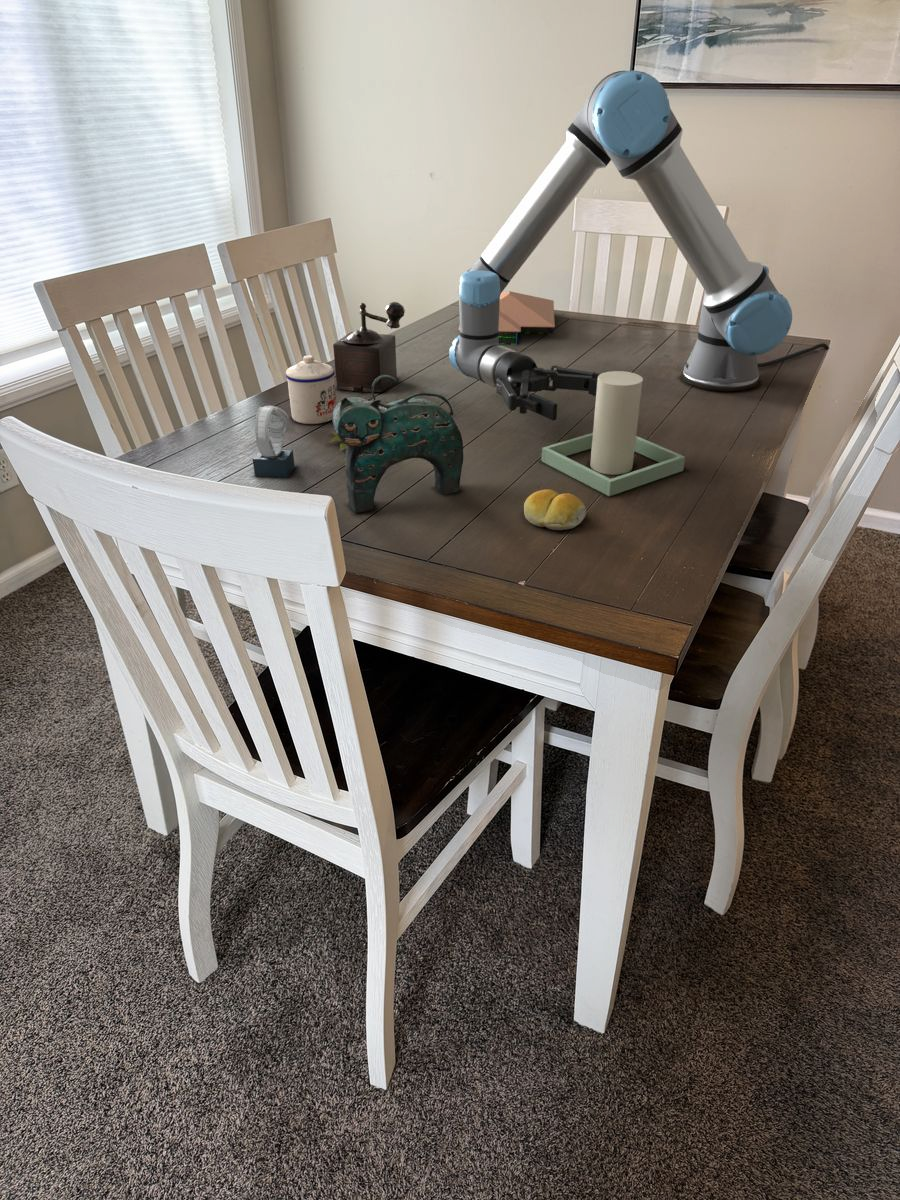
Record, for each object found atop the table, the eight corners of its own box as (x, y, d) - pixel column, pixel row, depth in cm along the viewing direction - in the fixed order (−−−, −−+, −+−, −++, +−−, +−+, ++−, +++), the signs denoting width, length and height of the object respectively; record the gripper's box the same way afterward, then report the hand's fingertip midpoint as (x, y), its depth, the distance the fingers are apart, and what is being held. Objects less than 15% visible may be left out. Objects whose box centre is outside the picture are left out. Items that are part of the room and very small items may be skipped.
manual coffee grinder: (333, 390, 172) (325, 301, 162) (353, 374, 181) (346, 288, 171) (404, 396, 168) (400, 305, 158) (420, 379, 177) (418, 292, 167)
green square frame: (613, 439, 148) (614, 426, 147) (683, 470, 137) (685, 456, 135) (541, 461, 140) (541, 447, 139) (609, 496, 129) (610, 481, 128)
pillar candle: (612, 454, 143) (620, 368, 134) (641, 468, 138) (652, 379, 130) (581, 464, 139) (588, 376, 131) (610, 478, 135) (619, 388, 126)
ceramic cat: (347, 519, 124) (335, 388, 113) (334, 502, 129) (322, 375, 118) (468, 494, 130) (468, 369, 119) (451, 479, 135) (450, 356, 124)
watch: (298, 462, 141) (290, 400, 135) (284, 482, 135) (275, 417, 129) (266, 461, 142) (257, 398, 136) (251, 480, 135) (241, 416, 129)
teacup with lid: (324, 427, 155) (318, 365, 148) (282, 422, 157) (274, 361, 151) (352, 406, 164) (348, 347, 158) (312, 401, 167) (306, 343, 160)
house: (552, 310, 224) (554, 279, 220) (554, 345, 197) (556, 310, 193) (468, 309, 226) (468, 278, 222) (458, 344, 199) (458, 309, 195)
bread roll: (538, 501, 128) (539, 477, 126) (591, 515, 124) (593, 490, 122) (512, 522, 122) (513, 497, 120) (567, 537, 118) (568, 512, 116)
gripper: (559, 378, 161) (637, 410, 147) (453, 404, 150) (526, 441, 135) (562, 339, 157) (642, 368, 142) (453, 363, 146) (528, 396, 131)
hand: (586, 404), depth 139 cm, fingers open, 13 cm apart
